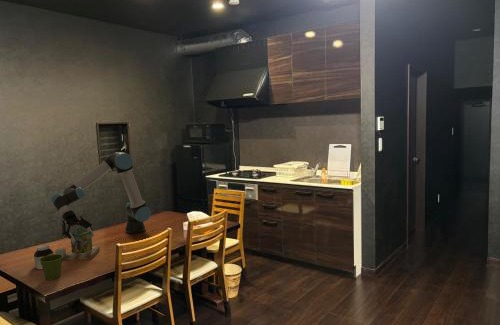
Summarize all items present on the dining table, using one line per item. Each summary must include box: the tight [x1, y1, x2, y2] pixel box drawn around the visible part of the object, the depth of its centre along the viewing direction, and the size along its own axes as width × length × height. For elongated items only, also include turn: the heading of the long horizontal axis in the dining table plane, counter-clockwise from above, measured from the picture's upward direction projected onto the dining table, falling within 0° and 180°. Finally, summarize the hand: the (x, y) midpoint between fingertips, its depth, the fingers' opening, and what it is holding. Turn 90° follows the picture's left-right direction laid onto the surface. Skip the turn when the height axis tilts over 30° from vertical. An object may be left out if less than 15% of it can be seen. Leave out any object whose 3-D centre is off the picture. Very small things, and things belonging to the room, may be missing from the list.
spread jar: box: [33, 244, 54, 270], centre depth 225 cm, size 12×11×12 cm
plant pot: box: [39, 253, 63, 281], centre depth 207 cm, size 12×12×11 cm
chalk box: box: [70, 226, 93, 253], centre depth 242 cm, size 9×9×15 cm
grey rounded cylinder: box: [54, 247, 67, 261], centre depth 238 cm, size 6×6×6 cm
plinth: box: [64, 245, 100, 261], centre depth 243 cm, size 16×16×3 cm
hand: (84, 238), depth 241 cm, fingers open, 13 cm apart
